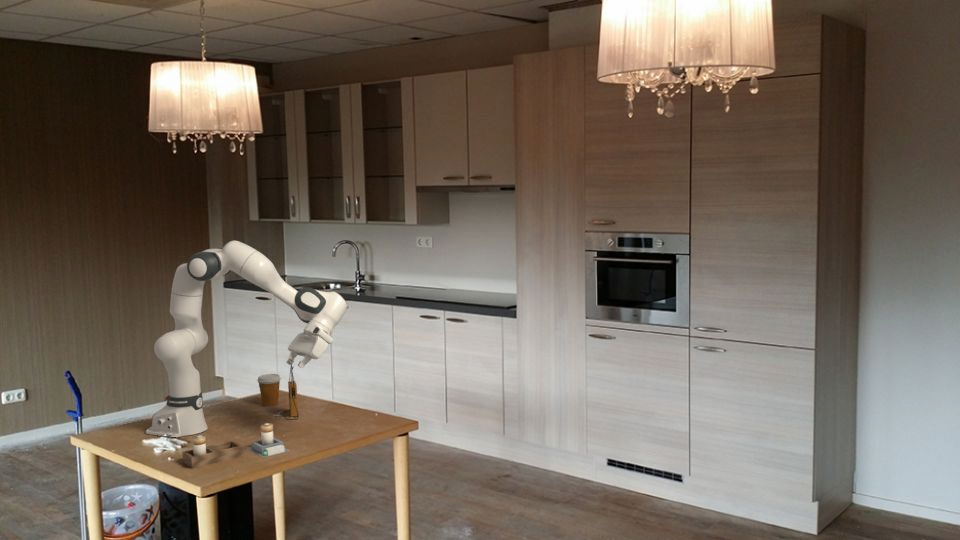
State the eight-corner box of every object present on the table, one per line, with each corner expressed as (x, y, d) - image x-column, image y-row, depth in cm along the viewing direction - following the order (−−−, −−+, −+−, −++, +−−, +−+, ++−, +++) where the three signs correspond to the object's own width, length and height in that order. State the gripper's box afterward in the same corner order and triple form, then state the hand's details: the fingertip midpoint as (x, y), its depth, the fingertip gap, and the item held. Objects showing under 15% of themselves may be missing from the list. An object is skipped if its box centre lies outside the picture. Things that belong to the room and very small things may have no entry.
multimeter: (270, 412, 341) (267, 364, 339) (295, 410, 344) (293, 361, 342) (273, 422, 327) (270, 371, 325) (299, 419, 330) (296, 369, 328)
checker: (263, 460, 282) (262, 450, 282) (245, 450, 293) (245, 440, 293) (290, 453, 288) (290, 443, 288) (272, 444, 299) (272, 434, 299)
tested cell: (259, 450, 289) (258, 425, 288) (265, 447, 293) (264, 421, 292) (270, 451, 288) (268, 425, 287) (276, 447, 292) (274, 422, 291)
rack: (192, 471, 273) (191, 458, 273) (183, 465, 280) (182, 451, 279) (244, 459, 284) (243, 446, 283) (233, 453, 290) (233, 440, 290)
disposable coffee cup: (286, 403, 354) (285, 375, 353) (267, 408, 347) (265, 380, 346) (273, 400, 361) (271, 372, 359) (254, 405, 354) (252, 376, 352)
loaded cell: (191, 463, 277) (189, 437, 276) (198, 459, 281) (197, 433, 280) (202, 464, 276) (200, 438, 275) (209, 460, 280) (207, 434, 279)
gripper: (297, 325, 309) (275, 357, 304) (322, 330, 292) (299, 363, 287) (310, 335, 312) (288, 366, 307) (335, 340, 295) (313, 373, 291)
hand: (294, 365), depth 297 cm, fingers open, 8 cm apart
